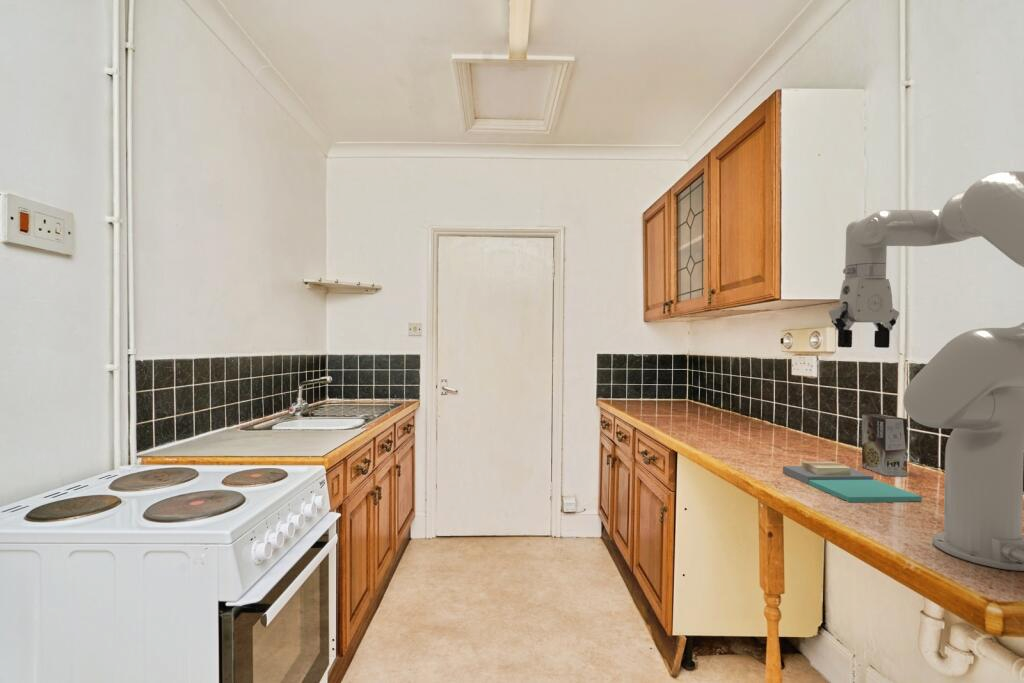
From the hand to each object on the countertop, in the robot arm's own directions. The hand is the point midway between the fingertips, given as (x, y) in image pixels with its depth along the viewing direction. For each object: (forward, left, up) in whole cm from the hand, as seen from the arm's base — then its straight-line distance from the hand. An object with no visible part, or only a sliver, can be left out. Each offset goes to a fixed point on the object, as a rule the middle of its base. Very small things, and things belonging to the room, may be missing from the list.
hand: (863, 347), depth 105 cm
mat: (+7, -6, -36) cm, 37 cm away
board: (+18, -6, -36) cm, 41 cm away
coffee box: (+24, -28, -36) cm, 52 cm away
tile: (+17, -5, -34) cm, 39 cm away
